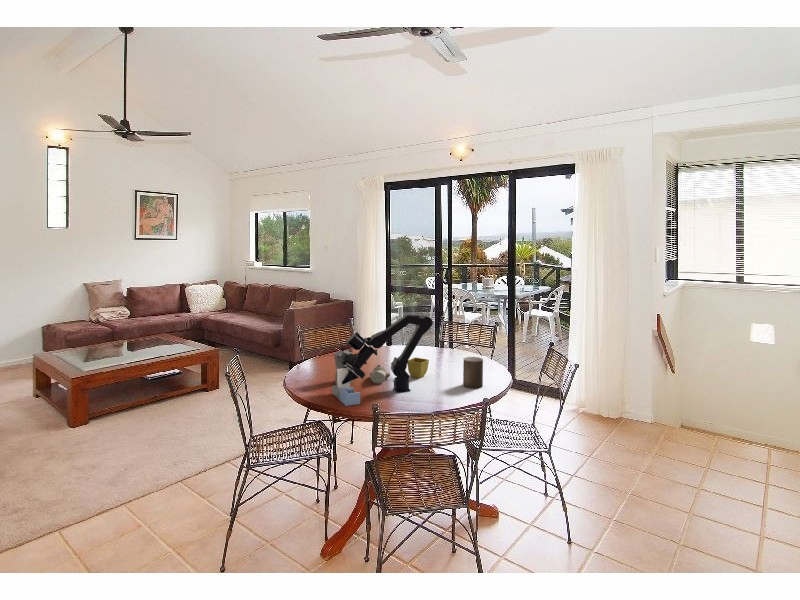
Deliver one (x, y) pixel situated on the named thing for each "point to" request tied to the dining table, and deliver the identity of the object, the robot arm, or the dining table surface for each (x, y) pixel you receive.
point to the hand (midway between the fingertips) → (340, 382)
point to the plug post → (342, 378)
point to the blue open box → (338, 391)
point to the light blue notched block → (349, 397)
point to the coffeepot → (338, 360)
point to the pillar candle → (473, 372)
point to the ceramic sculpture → (379, 375)
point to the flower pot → (417, 367)
